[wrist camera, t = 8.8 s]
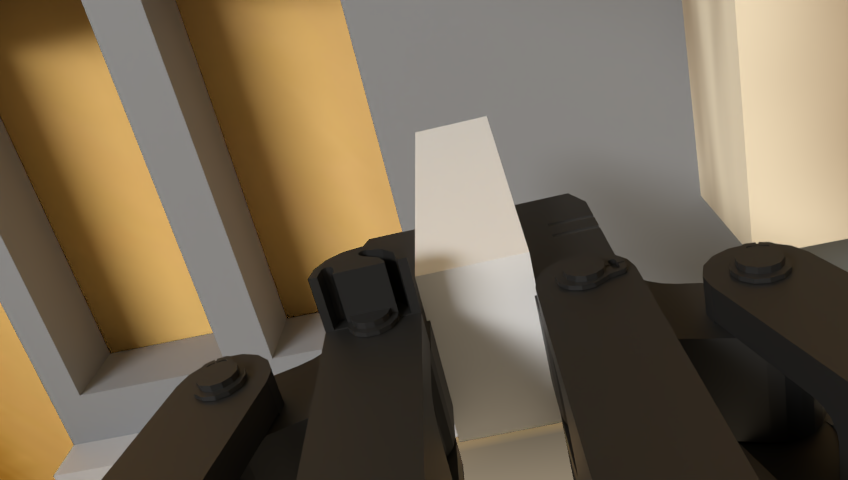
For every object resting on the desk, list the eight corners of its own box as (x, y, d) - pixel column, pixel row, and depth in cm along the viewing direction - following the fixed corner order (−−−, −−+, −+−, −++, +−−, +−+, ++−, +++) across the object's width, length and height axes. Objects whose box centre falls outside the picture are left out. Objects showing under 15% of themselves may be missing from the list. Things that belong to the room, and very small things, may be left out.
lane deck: (116, 426, 29) (47, 540, 24) (-134, -92, 22) (-309, -87, 17) (1042, 254, 25) (1192, 345, 20) (1107, -437, 18) (1366, -564, 13)
